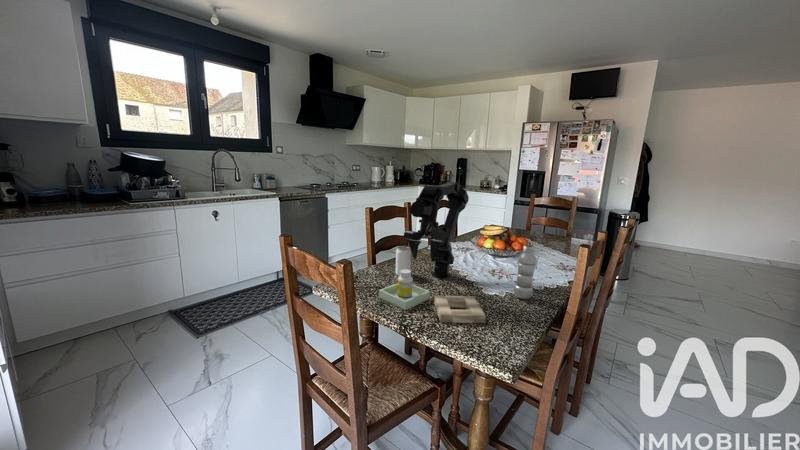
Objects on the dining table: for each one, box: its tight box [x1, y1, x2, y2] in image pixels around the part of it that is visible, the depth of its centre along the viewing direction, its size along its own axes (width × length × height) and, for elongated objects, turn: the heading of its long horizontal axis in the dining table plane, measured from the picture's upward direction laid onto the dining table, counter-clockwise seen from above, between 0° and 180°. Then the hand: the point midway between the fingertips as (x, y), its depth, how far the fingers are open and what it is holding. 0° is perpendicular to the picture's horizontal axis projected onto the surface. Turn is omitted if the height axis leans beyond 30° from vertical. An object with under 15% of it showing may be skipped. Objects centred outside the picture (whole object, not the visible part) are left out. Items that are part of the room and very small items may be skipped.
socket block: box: [433, 295, 486, 324], centre depth 104 cm, size 14×14×2 cm
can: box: [395, 245, 412, 277], centre depth 135 cm, size 6×6×12 cm
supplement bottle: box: [397, 269, 414, 300], centre depth 112 cm, size 5×5×10 cm
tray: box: [378, 282, 431, 311], centre depth 113 cm, size 13×13×3 cm
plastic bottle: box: [513, 244, 538, 300], centre depth 115 cm, size 6×7×20 cm
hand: (423, 258), depth 120 cm, fingers open, 9 cm apart
